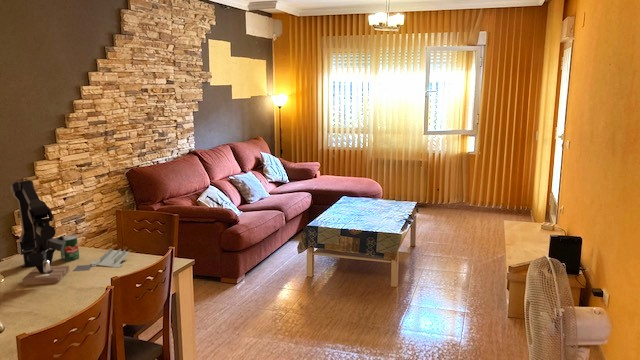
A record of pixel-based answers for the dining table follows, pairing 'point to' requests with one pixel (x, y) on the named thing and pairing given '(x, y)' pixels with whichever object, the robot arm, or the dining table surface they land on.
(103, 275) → the dining table surface
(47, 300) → the dining table surface
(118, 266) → the metal bracket
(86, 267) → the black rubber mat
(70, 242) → the canned tomato
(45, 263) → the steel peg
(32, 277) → the walnut hole plate
